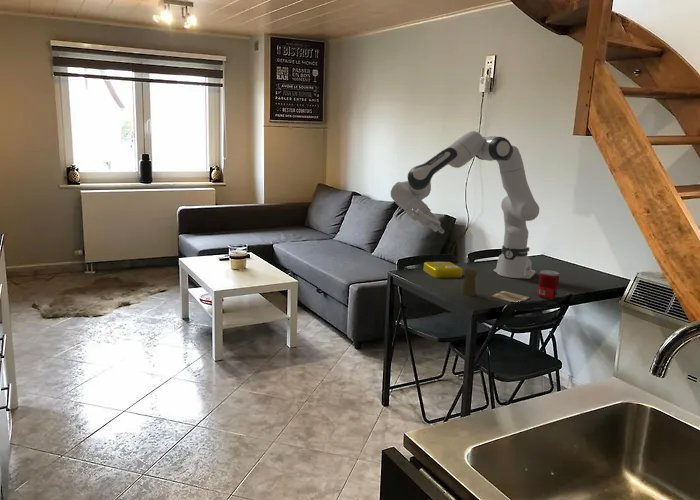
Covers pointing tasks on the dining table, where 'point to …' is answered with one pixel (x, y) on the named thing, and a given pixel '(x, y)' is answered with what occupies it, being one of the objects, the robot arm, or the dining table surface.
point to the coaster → (509, 297)
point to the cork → (469, 282)
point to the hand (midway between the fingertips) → (440, 231)
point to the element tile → (442, 269)
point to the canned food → (548, 284)
